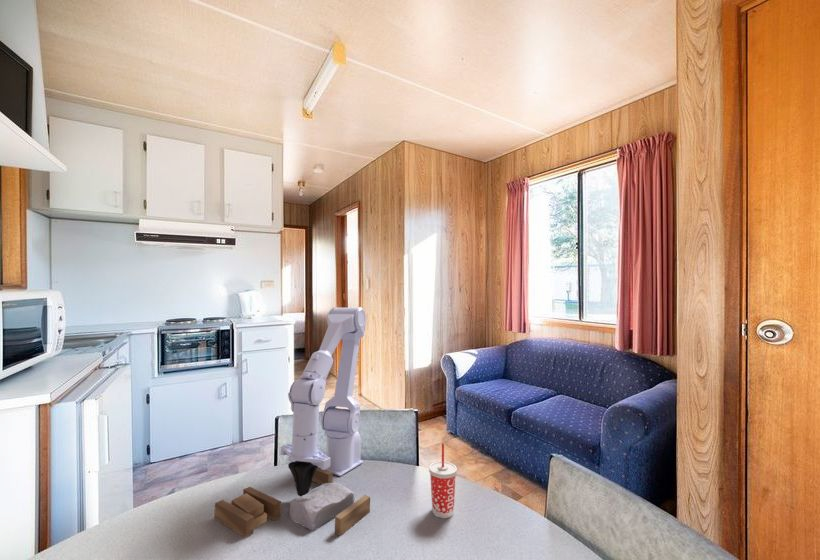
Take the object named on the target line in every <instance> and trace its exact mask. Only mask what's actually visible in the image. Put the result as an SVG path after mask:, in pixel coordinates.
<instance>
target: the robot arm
mask: <svg viewBox="0 0 820 560" xmlns="http://www.w3.org/2000/svg"><path fill="white" fill-rule="evenodd" d="M326 322H327V327H326V328H327V329H326V332H325V334H324V337H323V339H322V341H321V344H320V346H319V350H317V351H315V352H313V353H312V354H311V356H310V358H309V360H308V362H307V364H306V365H305V368H304V370H303V372H302V373H301V376H300V378H298V379H297V380H295V381H293V382H292V384H291V385H290V389H289V392H288V393H287V394H288V395H287V396H288V401H289V403H290V410H291V412H292V413H293V414H292V415H293V416H292V436H291V438H292V439H291V444H290V443H286V444H283V445H280V455H281V456H288V458H287V461H288V462H289V463H288V466H287V467H288V469H289V470H290V473H291V475H292V477H293V481H294V485H295V488H296V494H297V496H299V497H301V496H303V495H306V494H307V493H308V492H309V491H310V490H311V485H312V484H311V483H312V482H313V481H312V478H313V476H314V473H315V471H316V469H317V467H320V468H321V469H322V470H325V469H326V470H328V471H331V472H333V475H335V476H338V477H341V476H343V475H345V474H347V473H348V472H350V471H351V470H354V469H355V468H357V467H358V466H359V465H362V464H363V463H364V461H363V460H362V459H361V456H362V455H361V454H362V453H361V452H362V449H361V447H362V438H361V437H362V436H361V435H360V432H359V431H358V430H359V428H360V425H361V405H360V404H359V402H357V401H356V399H355V397H353V395H354V394H353V393H354V386H355V379H356V371H357V364H358V358H359V357H358V356H359V349H360V341H361V339H362V338H363V337H364V336H365V331H366V326H367V315H366V312H365V310H364V308H363V307H361V306H359V307H336V306H334V307H331V308H330V310H329V312H328V314H327V317H326ZM341 340H342V343H341V344H342V345H341V350H340V357H339V363H338V368H337V369H338V370H337V377H336V382H335V390H334V395H333V396H332V397H331V398H330V399H329V400H327V401H325V404H324V408H323V411H322V414H321V417H320V418H319V416H320V415H319V414H320V404H321V403H322V402H323V400H324V397H325V394H326V385H327V378H328V375H329V373H330V371H331V369H332V366H333V365H334V364H333V363H334V358H333V357H332V356H333V354H334V352H335V350H336V349H337V347H338V345H339V343H340V341H341ZM338 407H339V408H338ZM319 419H320V426H321V429H322V431H324V435H325V436H326V452H325V453H326V454H324V453H323V452H322V451H321V450H320V449H319V447H318V446H319Z"/></svg>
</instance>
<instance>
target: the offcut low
mask: <svg viewBox="0 0 820 560" xmlns="http://www.w3.org/2000/svg"><path fill="white" fill-rule="evenodd" d="M267 522H268V517H267V514H266V513H264V514H263V515H261V516H259V517H257V518H255V519H254V528H253V531H254V530H255V529H257V528H258V527H260V526H262V525H263V524H265V523H267Z"/></svg>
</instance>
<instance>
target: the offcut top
mask: <svg viewBox="0 0 820 560" xmlns="http://www.w3.org/2000/svg"><path fill="white" fill-rule="evenodd" d="M230 502H231V503H230V504H232V505H234V506H235V507H237V508H239V509H241V510H243V511H245V512H246V513H248V514H250V515H252V516H254V519H255V518H257V517H259V516H261V515H263V514H264V505H263V504H262V503H260V502H259V501H257V500H256V499H254V498H253V497H251V496H250V495H248V494H247V493H246V494H244V495H243V494H242V495H239V496H238V497H235V498H233V499H231V501H230Z"/></svg>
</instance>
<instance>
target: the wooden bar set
mask: <svg viewBox="0 0 820 560" xmlns="http://www.w3.org/2000/svg"><path fill="white" fill-rule="evenodd" d="M333 475H334V474H333V472H331V471H328V470H326V469H325V470H322V469H321V468H320V467H319V466H318V467H317V469H316V471H315V473H314V476H313V478H312V481H311V482H313V483H316V484H318V485H319V486H321V485H322V484H326V483H333V477H334V476H333ZM242 490H243V491H242V495H244V494H246V493H247V494H248V495H250V496H251V497H253V498H254V499H256V500H257V501H259V502H260V503H262V504H263V505H264V513H266V514H267V519H268V518H269V519H270V520H272V521H276V520H277V519H280V518H281V512H282V509H281V508H282V501H281V500H279V499H276V498H275V497H273V496H270V495H269V494H266V493H264V492H262V491H260V490H258V489H256V488H254V487H251V486H247V488H243V489H242ZM214 504H215V505H214V520H216V521H218V522H219V523H221V524H223V525H225V526H226V527H228V528H229V529H230V530H232V531H234V532H235V533H237V534H239V535H240V536H242V537H244V538H245V539H246V538H249V536H251V535H253V534H254V530H253V528H254V516H252V515H250V514H248V513H246V512H245V511H243V510H241V509H239V508H237V507H235V506H234V505H232V504H231V503H230V502H228V501H226V500H224V499H220V500H219V501H215V503H214ZM370 512H371V496H370V495H369V496H368V495H366V494H364V495H362V496H361V497H359V498H358V499H357V500H355V501H354V503H353V504H352V505H350V506H349V507H348V508H346V509H345V510H343V511H342V512H341V513H339V514H338V515H337V516H335V518H334V534H336V535H338V536H342V535H343V534H345V533H346V532H348V531H349V529H351V528H353V526H355V525H356V524H357V523H358V522H359V521H360V520H362V519H363V518H365V516H367V515H368V514H369V513H370Z"/></svg>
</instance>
